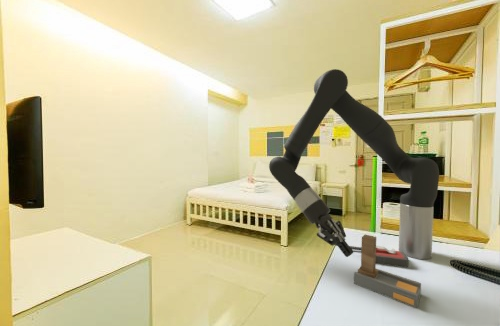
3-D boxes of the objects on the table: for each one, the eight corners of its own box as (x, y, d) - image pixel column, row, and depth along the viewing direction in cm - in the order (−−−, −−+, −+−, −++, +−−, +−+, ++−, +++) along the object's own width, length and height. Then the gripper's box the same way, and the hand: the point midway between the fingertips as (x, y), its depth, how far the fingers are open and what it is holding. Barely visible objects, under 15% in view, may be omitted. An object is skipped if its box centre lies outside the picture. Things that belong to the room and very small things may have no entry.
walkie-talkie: (403, 257, 74) (340, 248, 81) (404, 244, 74) (340, 236, 81) (413, 270, 66) (342, 259, 73) (414, 255, 66) (342, 246, 73)
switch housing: (362, 273, 64) (362, 263, 64) (420, 293, 54) (421, 282, 54) (353, 283, 59) (353, 273, 58) (416, 308, 49) (416, 296, 49)
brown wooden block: (362, 267, 62) (363, 233, 62) (378, 273, 59) (379, 237, 59) (357, 273, 59) (358, 237, 59) (374, 279, 57) (375, 241, 56)
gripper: (308, 201, 64) (351, 256, 56) (328, 195, 73) (367, 241, 65) (293, 215, 68) (331, 269, 60) (313, 208, 77) (349, 253, 69)
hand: (350, 254), depth 63 cm, fingers closed
